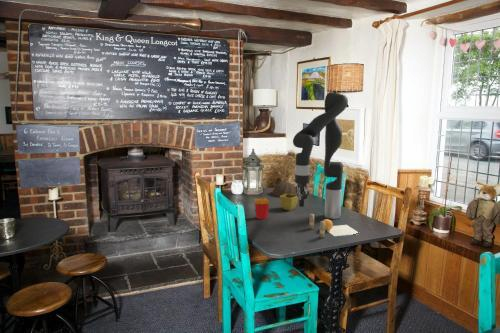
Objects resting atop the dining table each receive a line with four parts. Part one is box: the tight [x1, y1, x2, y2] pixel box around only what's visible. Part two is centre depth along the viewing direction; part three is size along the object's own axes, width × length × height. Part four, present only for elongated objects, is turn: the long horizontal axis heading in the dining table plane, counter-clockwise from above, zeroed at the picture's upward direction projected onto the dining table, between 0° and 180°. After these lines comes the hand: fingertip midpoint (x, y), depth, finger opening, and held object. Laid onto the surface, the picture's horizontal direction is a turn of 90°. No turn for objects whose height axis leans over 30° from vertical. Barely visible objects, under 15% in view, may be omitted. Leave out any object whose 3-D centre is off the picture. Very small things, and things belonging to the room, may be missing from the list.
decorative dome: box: [271, 181, 297, 198], centre depth 288 cm, size 19×20×10 cm
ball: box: [322, 218, 334, 231], centre depth 211 cm, size 6×6×6 cm
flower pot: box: [279, 194, 299, 211], centre depth 250 cm, size 9×9×9 cm
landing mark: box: [325, 224, 358, 238], centre depth 211 cm, size 15×15×1 cm
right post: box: [319, 220, 326, 239], centre depth 201 cm, size 3×3×8 cm
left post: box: [308, 213, 315, 230], centre depth 214 cm, size 3×3×8 cm
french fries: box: [254, 197, 270, 220], centre depth 232 cm, size 8×4×12 cm, turn 94°
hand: (301, 206), depth 203 cm, fingers closed
